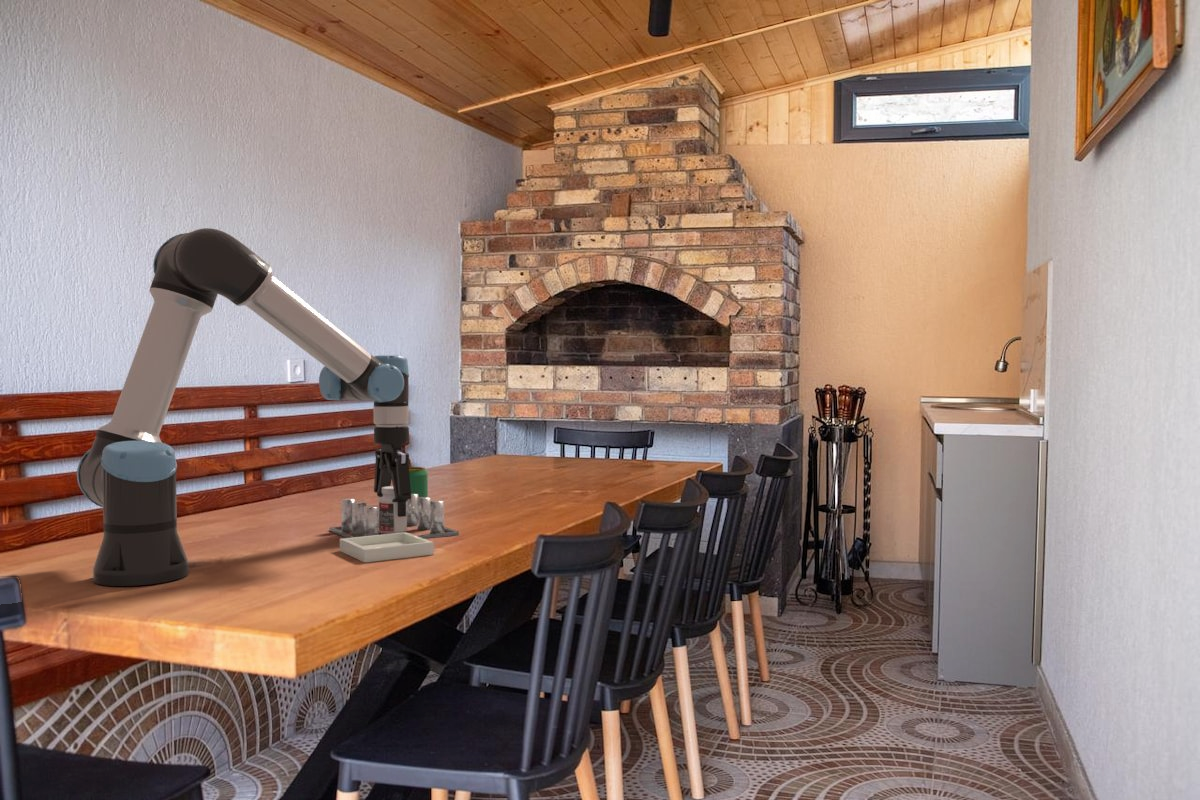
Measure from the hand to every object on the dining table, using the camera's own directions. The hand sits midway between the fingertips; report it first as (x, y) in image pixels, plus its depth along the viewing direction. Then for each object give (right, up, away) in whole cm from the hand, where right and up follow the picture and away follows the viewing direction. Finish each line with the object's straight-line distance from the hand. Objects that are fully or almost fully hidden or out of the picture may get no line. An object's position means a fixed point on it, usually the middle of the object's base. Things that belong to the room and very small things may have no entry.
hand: (392, 528), depth 222 cm
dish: (+4, -2, -24) cm, 24 cm away
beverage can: (0, 0, +19) cm, 19 cm away
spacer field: (0, -1, 0) cm, 1 cm away
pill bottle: (0, -1, 0) cm, 1 cm away
